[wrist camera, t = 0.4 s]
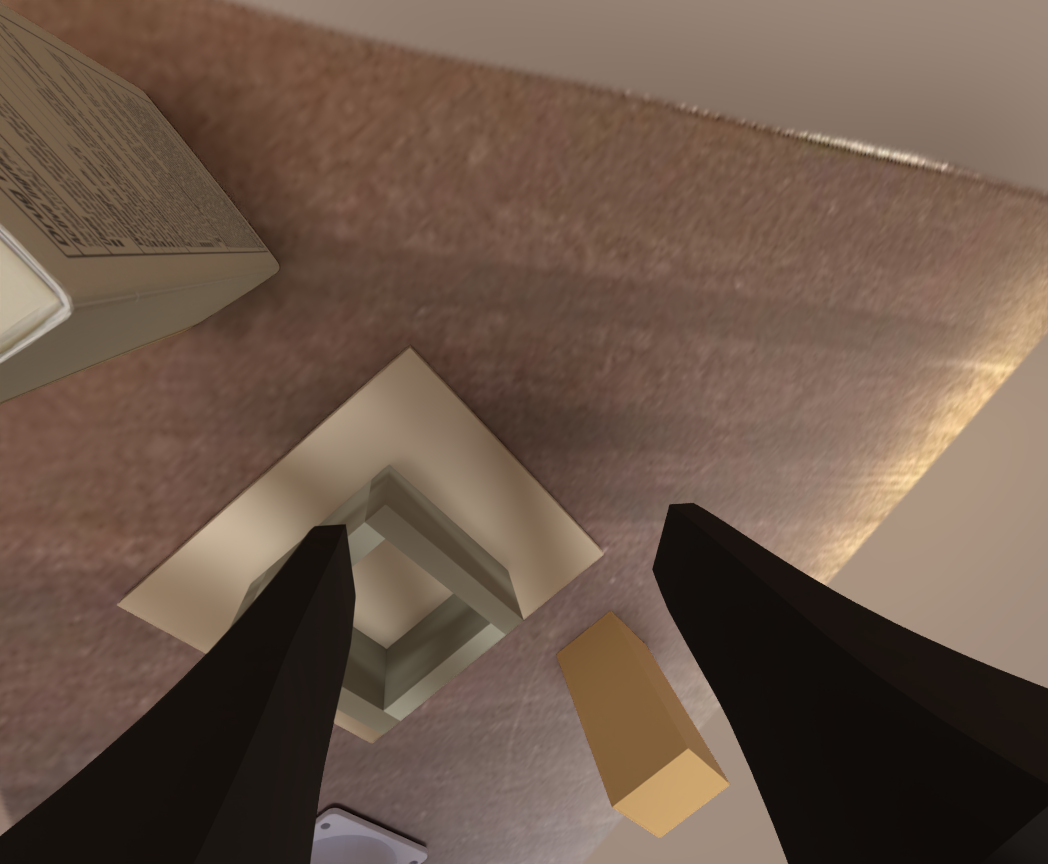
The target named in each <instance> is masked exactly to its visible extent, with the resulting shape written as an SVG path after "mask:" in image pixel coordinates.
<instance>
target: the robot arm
mask: <svg viewBox="0 0 1048 864" xmlns="http://www.w3.org/2000/svg"><path fill="white" fill-rule="evenodd" d="M652 570H653V573H654V575H655V578H656V581H657V583H658V586H659V589H660V591H661V594H662V596H663V599H664V601H665V603H666V606H667V608H668V610H669V612H670V614H671V616H672V618H673V620H674V622H675V624H676V625H677V627H678V629H679V631H680V633H681V634H682V636H683V638H684V640H685V642H686V644H687V645H688V647H689V649H690V651H691V653H692V654H693V656H694V658H695V660H696V662H697V663H698V665H699V667H700V669H701V670H702V672H703V674H704V676H705V678H706V679H707V681H708V683H709V685H710V687H711V688H712V690H713V692H714V694H715V696H716V697H717V699H718V701H719V703H720V705H721V707H722V709H723V710H724V713H725V715H726V716H727V719H728V720H729V722H730V725H731V727H732V729H733V731H734V734H735V736H736V738H737V740H738V742H739V745H740V747H741V749H742V752H743V754H744V756H745V758H746V761H747V763H748V765H749V767H750V770H751V772H752V774H753V777H754V779H755V782H756V784H757V786H758V789H759V791H760V794H761V796H762V799H763V801H764V803H765V806H766V808H767V811H768V813H769V815H770V818H771V820H772V823H773V825H774V828H775V830H776V833H777V836H778V838H779V841H780V844H781V846H782V848H783V851H784V854H785V857H786V859H787V862H788V864H1048V688H1045V687H1043V686H1040V685H1038V684H1035V683H1032V682H1030V681H1027V680H1025V679H1022V678H1020V677H1017V676H1015V675H1012V674H1009V673H1007V672H1004V671H1002V670H999V669H996V668H994V667H992V666H990V665H987V664H985V663H982V662H980V661H977V660H975V659H973V658H970V657H968V656H966V655H963V654H961V653H959V652H956V651H954V650H952V649H950V648H947V647H945V646H943V645H941V644H939V643H937V642H934V641H932V640H930V639H928V638H925V637H923V636H921V635H919V634H917V633H914V632H913V631H910V630H908V629H906V628H904V627H902V626H900V625H898V624H896V623H894V622H892V621H890V620H888V619H886V618H884V617H882V616H880V615H878V614H877V613H874V612H873V611H871V610H868V609H867V608H865V607H863V606H861V605H859V604H857V603H855V602H853V601H852V600H850V599H848V598H846V597H844V596H843V595H841V594H839V593H837V592H835V591H834V590H832V589H830V588H829V587H827V586H825V585H824V584H822V583H820V582H818V581H817V580H815V579H813V578H812V577H810V576H808V575H807V574H805V573H803V572H802V571H800V570H798V569H797V568H795V567H793V566H792V565H790V564H789V563H787V562H785V561H784V560H782V559H781V558H779V557H778V556H776V555H774V554H773V553H771V552H770V551H768V550H767V549H765V548H764V547H762V546H760V545H759V544H757V543H756V542H754V541H753V540H751V539H750V538H748V537H747V536H745V535H744V534H742V533H741V532H739V531H738V530H736V529H735V528H733V527H732V526H730V525H728V524H727V523H725V522H724V521H722V520H721V519H719V518H718V517H716V516H715V515H713V514H711V513H710V512H708V511H706V510H705V509H703V508H701V507H700V506H698V505H696V504H694V503H685V504H670V505H669V509H668V513H667V516H666V520H665V524H664V528H663V531H662V535H661V539H660V543H659V546H658V550H657V554H656V558H655V561H654V565H653V569H652ZM355 601H356V593H355V585H354V578H353V571H352V564H351V557H350V550H349V542H348V535H347V528H346V524H340V525H323V526H314V527H313V528H312V529H311V530H310V531H309V532H308V533H307V535H306V536H305V537H304V539H303V540H302V541H301V543H300V544H299V545H298V547H297V548H296V549H295V551H294V552H293V553H292V554H291V556H290V557H289V558H288V560H287V561H286V562H285V563H284V565H283V566H282V567H281V569H280V570H279V571H278V572H277V574H276V575H275V576H274V577H273V579H272V580H271V581H270V582H269V583H268V585H267V586H266V587H265V588H264V589H263V591H262V592H261V593H260V594H259V595H258V597H257V598H256V599H255V600H254V601H253V603H252V604H251V605H250V606H249V607H248V609H247V610H246V611H245V612H244V613H243V614H242V615H241V617H240V618H239V619H238V620H237V621H236V622H235V623H234V624H233V625H232V626H231V628H230V629H229V630H228V631H227V632H226V633H225V634H224V635H223V636H222V637H221V638H220V640H219V641H218V642H217V643H216V644H215V645H214V646H213V647H212V648H211V649H210V650H209V652H208V653H207V654H206V655H205V656H204V657H203V658H202V659H201V660H200V661H199V662H198V663H197V664H196V665H195V666H194V667H193V668H192V669H191V670H190V671H189V672H188V673H187V674H186V675H185V676H184V677H183V678H182V679H181V680H180V681H179V682H178V683H177V684H176V685H175V686H174V687H173V688H172V689H171V690H170V691H169V692H168V693H167V694H166V695H165V696H164V697H163V698H161V699H160V700H159V701H158V702H157V703H156V704H155V705H154V706H153V707H152V708H151V709H150V710H149V711H148V712H147V713H146V714H145V715H143V716H142V717H141V718H140V719H139V720H138V721H137V722H136V723H135V724H133V725H132V726H131V727H130V728H129V729H128V730H127V731H126V732H124V733H123V734H122V735H121V736H120V737H119V738H118V739H117V740H116V741H114V742H113V743H112V744H111V745H110V746H109V747H108V748H107V749H105V750H104V751H103V752H102V753H101V754H100V755H99V756H97V757H96V758H95V759H94V760H93V761H92V762H91V763H89V764H88V765H87V766H86V767H85V768H84V769H82V770H81V771H80V772H79V773H78V774H77V775H75V776H74V777H73V778H72V779H71V780H69V781H68V782H67V783H66V784H65V785H63V786H62V787H61V788H60V789H59V790H57V791H56V792H55V793H54V794H52V795H51V796H50V797H49V798H47V799H46V800H45V801H44V802H42V803H41V804H40V805H39V806H37V807H36V808H35V809H34V810H32V811H31V812H30V813H29V814H27V815H26V816H25V817H24V818H22V819H21V820H20V821H19V822H17V823H16V824H15V825H14V826H12V827H11V828H10V829H9V830H7V831H6V832H5V833H4V834H2V835H1V836H0V864H421V863H422V862H424V861H425V860H426V859H427V856H428V852H427V848H425V847H424V846H422V845H419V844H417V843H415V842H413V841H410V840H408V839H406V838H404V837H402V836H399V835H397V834H395V833H393V832H390V831H388V830H386V829H384V828H381V827H379V826H377V825H375V824H373V823H370V822H368V821H366V820H364V819H361V818H359V817H357V816H355V815H352V814H350V813H348V812H346V811H344V810H341V809H339V808H331V809H328V810H327V811H326V812H324V813H323V814H322V815H321V816H319V817H318V818H317V819H316V816H317V809H318V801H319V794H320V787H321V782H322V776H323V771H324V765H325V760H326V756H327V751H328V747H329V742H330V738H331V733H332V729H333V724H334V720H335V715H336V711H337V706H338V702H339V697H340V693H341V688H342V684H343V679H344V674H345V670H346V665H347V660H348V656H349V651H350V646H351V640H352V631H353V622H354V611H355Z"/></svg>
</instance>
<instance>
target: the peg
mask: <svg viewBox="0 0 1048 864" xmlns="http://www.w3.org/2000/svg"><path fill="white" fill-rule="evenodd" d="M556 656H557V658H558V661H559V664H560V667H561V669H562V672H563V675H564V678H565V680H566V683H567V686H568V688H569V691H570V694H571V697H572V699H573V702H574V705H575V708H576V710H577V713H578V716H579V718H580V721H581V724H582V727H583V729H584V732H585V735H586V737H587V740H588V743H589V746H590V748H591V751H592V754H593V757H594V759H595V762H596V765H597V767H598V770H599V773H600V776H601V778H602V781H603V784H604V787H605V789H606V792H607V795H608V797H609V800H610V803H611V806H612V807H613V808H614V809H616V810H617V811H619V812H620V813H622V814H623V815H625V816H626V817H628V818H629V819H631V820H632V821H634V822H635V823H637V824H639V825H640V826H642V827H643V828H645V829H646V830H648V831H649V832H651V833H652V834H654V835H656V836H657V837H658V838H661V837H662V836H663V835H665V834H666V833H667V832H669V831H670V830H671V829H672V828H674V827H675V826H676V825H678V824H679V823H680V822H682V821H683V820H684V819H686V818H687V817H688V816H690V815H691V814H692V813H694V812H695V811H696V810H697V809H699V808H700V807H701V806H703V805H704V804H705V803H707V802H708V801H709V800H711V799H712V798H713V797H715V796H716V795H717V794H719V793H720V792H721V791H722V790H724V789H725V788H726V787H728V786H729V785H730V783H729V782H728V780H727V778H726V777H725V775H724V773H723V772H722V770H721V768H720V767H719V765H718V763H717V762H716V760H715V759H714V757H713V755H712V753H711V752H710V751H709V748H708V747H707V745H706V744H705V742H704V740H703V738H702V737H701V735H700V733H699V732H698V730H697V728H696V727H695V725H694V724H693V722H692V720H691V719H690V717H689V715H688V714H687V712H686V710H685V709H684V707H683V705H682V704H681V702H680V700H679V699H678V697H677V695H676V694H675V692H674V690H673V689H672V687H671V685H670V684H669V682H668V681H667V679H666V677H665V676H664V674H663V672H662V671H661V669H660V667H659V666H658V664H657V662H656V661H655V659H654V657H653V656H652V654H651V652H650V651H649V649H648V647H647V646H646V645H645V644H644V643H643V642H642V641H641V640H640V639H639V638H638V637H637V636H636V635H635V634H634V633H633V632H632V631H631V630H630V629H629V628H628V627H627V626H626V625H625V624H624V623H623V622H622V621H621V620H620V619H619V618H618V617H617V616H616V615H615V614H614V613H613V612H612V611H609V612H608V613H607V614H606V615H604V616H603V617H602V618H601V619H599V620H598V621H597V622H596V623H594V624H593V625H592V626H591V627H590V628H588V629H587V630H586V631H585V632H583V633H582V634H581V635H580V636H578V637H577V638H576V639H575V640H573V641H572V642H571V643H570V644H568V645H567V646H566V647H565V648H563V649H562V650H561V651H560V652H558V653H557V654H556Z"/></svg>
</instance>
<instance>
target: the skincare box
mask: <svg viewBox="0 0 1048 864" xmlns="http://www.w3.org/2000/svg"><path fill="white" fill-rule="evenodd" d="M278 270H279V264H278V262H277V261H276V259H275V258H274V257H273V255H272V254H271V253H270V251H269V250H268V248H267V247H266V246H265V244H264V243H263V242H262V241H261V239H260V238H259V237H258V235H257V234H256V233H255V231H254V230H253V229H252V227H251V226H250V225H249V223H248V222H247V221H246V219H245V218H244V217H243V216H242V214H241V213H240V212H239V210H238V209H237V208H236V207H235V205H234V204H233V203H232V201H231V200H230V199H229V197H228V196H227V195H226V194H225V192H224V191H223V190H222V188H221V187H220V186H219V185H218V183H217V182H216V181H215V180H214V178H213V177H212V176H211V175H210V173H209V172H208V171H207V170H206V168H205V167H204V166H203V164H202V163H201V162H200V160H199V159H198V158H197V157H196V155H195V154H194V153H193V152H192V150H191V149H190V148H189V147H188V146H187V144H186V143H185V142H184V141H183V139H182V138H181V137H180V135H179V134H178V133H177V132H176V130H175V129H174V128H173V127H172V126H171V124H170V123H169V122H168V121H167V120H166V118H165V117H164V116H163V115H162V113H161V112H160V111H159V110H158V109H157V107H156V106H155V105H154V104H153V102H152V101H151V100H150V99H149V97H148V96H147V95H146V94H145V93H144V92H143V91H142V90H141V89H139V88H138V87H136V86H135V85H133V84H131V83H129V82H128V81H126V80H125V79H123V78H122V77H120V76H118V75H117V74H115V73H113V72H112V71H110V70H109V69H107V68H105V67H104V66H102V65H100V64H99V63H97V62H96V61H94V60H92V59H91V58H89V57H87V56H86V55H84V54H82V53H81V52H79V51H77V50H76V49H74V48H73V47H71V46H70V45H68V44H66V43H65V42H63V41H61V40H60V39H58V38H57V37H55V36H54V35H52V34H50V33H49V32H47V31H45V30H44V29H42V28H41V27H39V26H37V25H36V24H34V23H33V22H31V21H29V20H28V19H26V18H24V17H22V16H21V15H19V14H18V13H16V12H14V11H13V10H11V9H10V8H8V7H7V6H5V5H3V4H2V3H0V404H3V403H5V402H8V401H10V400H13V399H15V398H18V397H20V396H23V395H25V394H27V393H30V392H32V391H35V390H37V389H40V388H42V387H45V386H47V385H50V384H52V383H55V382H57V381H60V380H62V379H65V378H67V377H70V376H72V375H75V374H77V373H80V372H82V371H85V370H87V369H90V368H92V367H95V366H97V365H99V364H102V363H105V362H107V361H110V360H112V359H115V358H118V357H120V356H123V355H125V354H128V353H130V352H133V351H136V350H138V349H141V348H143V347H146V346H148V345H151V344H153V343H156V342H159V341H161V340H164V339H166V338H169V337H171V336H174V335H177V334H179V333H182V332H184V331H187V330H188V329H190V328H191V327H193V326H195V325H196V324H198V323H200V322H202V321H203V320H205V319H206V318H208V317H210V316H211V315H213V314H215V313H216V312H218V311H219V310H221V309H222V308H224V307H226V306H227V305H229V304H230V303H232V302H233V301H235V300H237V299H238V298H240V297H241V296H243V295H244V294H246V293H247V292H249V291H251V290H252V289H254V288H255V287H257V286H258V285H260V284H261V283H263V282H264V281H265V280H267V279H268V278H270V277H271V276H273V275H274V274H276V273H277V272H278Z"/></svg>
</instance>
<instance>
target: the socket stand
mask: <svg viewBox="0 0 1048 864" xmlns="http://www.w3.org/2000/svg"><path fill="white" fill-rule="evenodd" d="M340 524H346V528H347V535H348V542H349V550H350V557H351V564H352V571H353V578H354V585H355V593H356V601H355V611H354V622H353V631H352V640H351V646H350V651H349V656H348V660H347V665H346V670H345V674H344V679H343V684H342V688H341V693H340V697H339V702H338V706H337V711H336V715H335V720H334V723H335V724H336V725H338V726H340V727H342V728H344V729H346V730H348V731H349V732H351V733H353V734H355V735H357V736H359V737H360V738H362V739H364V740H366V741H368V742H370V743H371V744H372V743H373V742H374V741H376V740H377V739H378V738H379V737H380V736H382V735H384V734H385V733H386V732H388V731H389V730H390V729H391V728H392V727H394V726H395V725H396V724H397V723H399V722H400V721H401V720H402V719H404V718H405V717H406V716H407V715H408V714H410V713H411V712H412V711H413V710H415V709H416V708H417V707H418V706H419V705H421V704H422V703H423V702H424V701H426V700H427V699H428V698H429V697H431V696H432V695H433V694H434V693H435V692H437V691H438V690H439V689H440V688H442V687H443V686H444V685H445V684H446V683H448V682H449V681H450V680H451V679H453V678H454V677H455V676H456V675H458V674H459V673H460V672H461V671H462V670H464V669H465V668H466V667H467V666H469V665H470V664H471V663H472V662H473V661H475V660H476V659H477V658H478V657H480V656H481V655H482V654H483V653H485V652H486V651H487V650H488V649H489V648H491V647H492V646H493V645H494V644H496V643H497V642H498V641H499V640H500V639H502V638H503V637H504V636H505V635H507V634H508V633H509V632H510V631H512V630H513V629H514V628H515V627H516V626H518V625H519V624H520V623H521V622H523V621H524V619H525V618H526V617H528V616H529V615H530V614H531V613H533V612H534V611H535V610H536V609H538V608H539V607H540V606H541V605H542V604H544V603H545V602H546V601H547V600H549V599H550V598H551V597H552V596H553V595H555V594H556V593H557V592H558V591H560V590H561V589H562V588H563V587H565V586H566V585H567V584H568V583H569V582H571V581H572V580H573V579H574V578H576V577H577V576H578V575H579V574H580V573H582V572H583V571H584V570H585V569H587V568H588V567H589V566H590V565H592V564H593V563H594V562H595V561H596V560H598V559H599V558H600V557H601V556H603V555H604V553H603V551H602V550H601V548H600V547H599V546H598V545H597V544H596V543H595V542H594V541H593V539H592V538H591V537H590V536H589V535H588V534H587V533H586V532H585V531H584V530H583V529H582V528H581V527H580V526H579V525H578V523H577V522H576V521H575V520H574V519H573V518H572V517H571V516H570V515H569V514H568V513H567V512H566V511H565V510H564V509H563V507H562V506H561V505H560V504H559V503H558V502H557V501H556V500H555V499H554V498H553V497H552V496H551V495H550V494H549V493H548V491H547V490H546V489H545V488H544V487H543V486H542V485H541V484H540V483H539V482H538V481H537V480H536V479H535V478H534V477H533V476H532V474H531V473H530V472H529V471H528V470H527V469H526V468H525V467H524V466H523V465H522V464H521V463H520V462H519V461H518V460H517V458H516V457H515V456H514V455H513V454H512V453H511V452H510V451H509V450H508V449H507V448H506V447H505V446H504V445H503V444H502V442H501V441H500V440H499V439H498V438H497V437H496V436H495V435H494V434H493V433H492V432H491V431H490V430H489V429H488V428H487V426H486V425H485V424H484V423H483V422H482V421H481V420H480V419H479V418H478V417H477V416H476V415H475V414H474V413H473V412H472V410H471V409H470V408H469V407H468V406H467V405H466V404H465V403H464V402H463V401H462V400H461V399H460V398H459V397H458V396H457V394H456V393H455V392H454V391H453V390H452V389H451V388H450V387H449V386H448V385H447V384H446V383H445V382H444V381H443V380H442V378H441V377H440V376H439V375H438V374H437V373H436V372H435V371H434V370H433V369H432V368H431V367H430V366H429V365H428V364H427V363H426V361H425V360H424V359H423V358H422V357H421V356H420V355H419V354H418V353H417V352H416V351H415V350H414V349H413V348H412V347H411V345H409V346H408V347H407V348H406V349H404V350H403V351H402V352H401V353H400V354H399V355H398V356H396V357H395V358H394V359H393V360H392V361H391V362H390V363H388V364H387V365H386V366H385V367H384V368H383V369H382V370H380V371H379V372H378V373H377V374H376V375H375V376H374V377H373V378H371V379H370V380H369V381H368V382H367V383H366V384H365V385H363V386H362V387H361V388H360V389H359V390H358V391H357V392H355V393H354V394H353V395H352V396H351V397H350V398H349V399H348V400H346V401H345V402H344V403H343V404H342V405H341V406H340V407H338V408H337V409H336V410H335V411H334V412H333V413H332V414H330V415H329V416H328V417H327V418H326V419H325V420H324V421H322V422H321V423H320V424H319V425H318V426H317V427H316V428H315V429H313V430H312V431H311V432H310V433H309V434H308V435H307V436H305V437H304V438H303V439H302V440H301V441H300V442H299V443H297V444H296V445H295V446H294V447H293V448H292V449H291V450H290V451H288V452H287V453H286V454H285V455H284V456H283V457H282V458H280V459H279V460H278V461H277V462H276V463H275V464H274V465H272V466H271V467H270V468H269V469H268V470H267V471H266V472H264V473H263V474H262V475H261V476H260V477H259V478H258V479H257V480H255V481H254V482H253V483H252V484H251V485H250V486H249V487H247V488H246V489H245V490H244V491H243V492H242V493H241V494H239V495H238V496H237V497H236V498H235V499H234V500H233V501H232V502H230V503H229V504H228V505H227V506H226V507H225V508H224V509H222V510H221V511H220V512H219V513H218V514H217V515H216V516H214V517H213V518H212V519H211V520H210V521H209V522H208V523H206V524H205V525H204V526H203V527H202V528H201V529H200V530H199V531H197V532H196V533H195V534H194V535H193V536H192V537H191V538H189V539H188V540H187V541H186V542H185V543H184V544H183V545H181V546H180V547H179V548H178V549H177V550H176V551H175V552H174V553H172V554H171V555H170V556H169V557H168V558H167V559H166V560H164V561H163V562H162V563H161V564H160V565H159V566H158V567H156V568H155V569H154V570H153V571H152V572H151V573H150V574H149V575H147V576H146V577H145V578H144V579H143V580H142V581H141V582H139V583H138V584H137V585H136V586H135V587H134V588H133V589H131V590H130V591H129V592H128V593H127V594H126V595H125V596H124V597H123V598H122V599H121V601H120V602H119V603H118V604H117V606H119V607H121V608H123V609H125V610H127V611H128V612H130V613H132V614H134V615H136V616H138V617H139V618H141V619H143V620H145V621H147V622H149V623H150V624H152V625H154V626H156V627H158V628H160V629H162V630H163V631H165V632H167V633H169V634H171V635H173V636H174V637H176V638H178V639H180V640H182V641H184V642H185V643H187V644H189V645H191V646H193V647H195V648H197V649H198V650H200V651H202V652H204V653H206V654H207V653H208V652H209V650H210V649H211V648H212V647H213V646H214V645H215V644H216V643H217V642H218V641H219V640H220V638H221V637H222V636H223V635H224V634H225V633H226V632H227V631H228V630H229V629H230V628H231V626H232V625H233V624H234V623H235V622H236V621H237V620H238V619H239V618H240V617H241V615H242V614H243V613H244V612H245V611H246V610H247V609H248V607H249V606H250V605H251V604H252V603H253V601H254V600H255V599H256V598H257V597H258V595H259V594H260V593H261V592H262V591H263V589H264V588H265V587H266V586H267V585H268V583H269V582H270V581H271V580H272V579H273V577H274V576H275V575H276V574H277V572H278V571H279V570H280V569H281V567H282V566H283V565H284V563H285V562H286V561H287V560H288V558H289V557H290V556H291V554H292V553H293V552H294V551H295V549H296V548H297V547H298V545H299V544H300V543H301V541H302V540H303V539H304V537H305V536H306V535H307V533H308V532H309V531H310V530H311V529H312V528H313V527H314V526H323V525H340Z"/></svg>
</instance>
